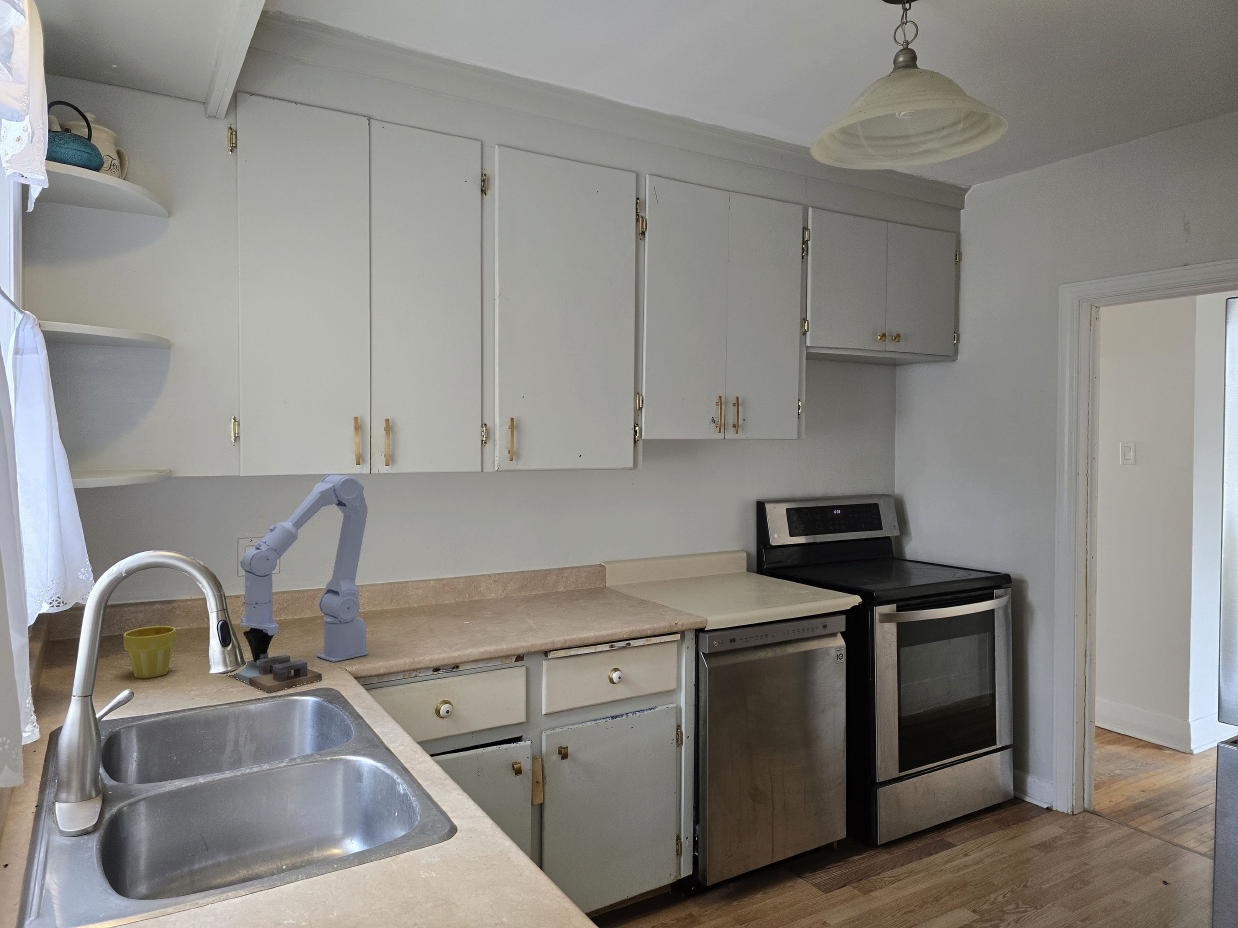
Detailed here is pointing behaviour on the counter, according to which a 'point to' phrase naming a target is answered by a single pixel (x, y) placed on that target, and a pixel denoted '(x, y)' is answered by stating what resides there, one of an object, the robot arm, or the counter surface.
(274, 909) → the counter surface
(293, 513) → the robot arm
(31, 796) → the counter surface
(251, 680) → the door and jamb
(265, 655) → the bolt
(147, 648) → the plant pot
